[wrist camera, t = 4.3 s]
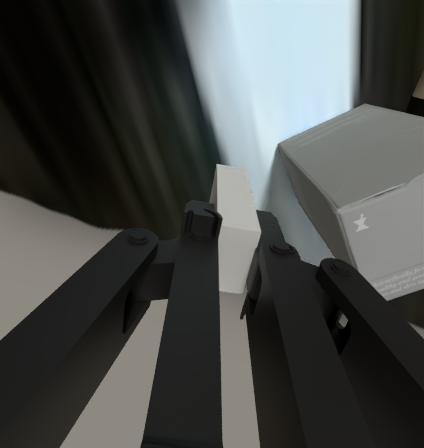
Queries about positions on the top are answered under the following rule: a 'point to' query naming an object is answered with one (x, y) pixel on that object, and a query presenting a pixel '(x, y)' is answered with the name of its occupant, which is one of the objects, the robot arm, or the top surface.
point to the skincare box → (365, 192)
